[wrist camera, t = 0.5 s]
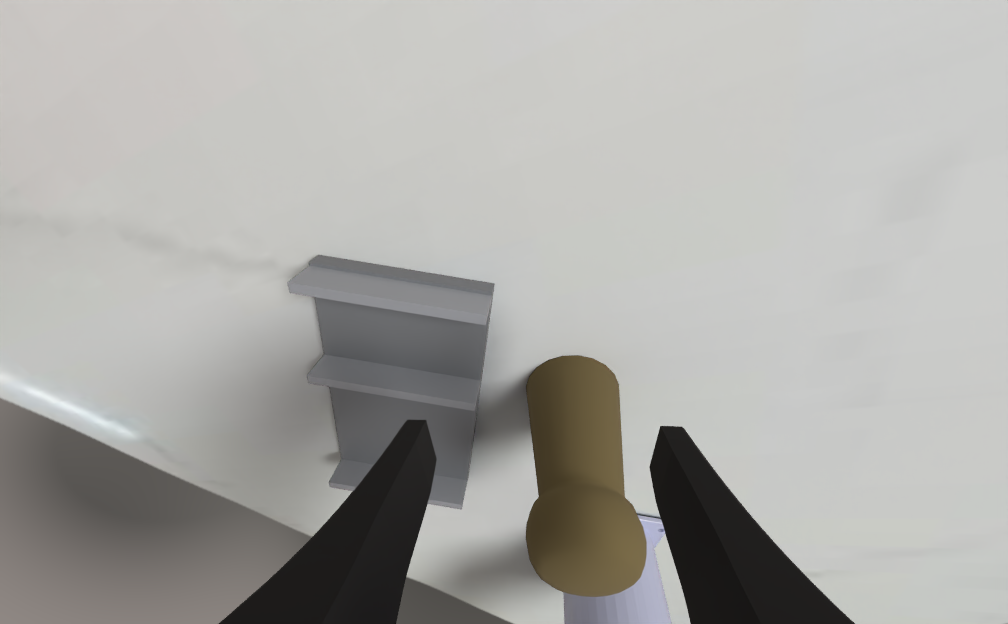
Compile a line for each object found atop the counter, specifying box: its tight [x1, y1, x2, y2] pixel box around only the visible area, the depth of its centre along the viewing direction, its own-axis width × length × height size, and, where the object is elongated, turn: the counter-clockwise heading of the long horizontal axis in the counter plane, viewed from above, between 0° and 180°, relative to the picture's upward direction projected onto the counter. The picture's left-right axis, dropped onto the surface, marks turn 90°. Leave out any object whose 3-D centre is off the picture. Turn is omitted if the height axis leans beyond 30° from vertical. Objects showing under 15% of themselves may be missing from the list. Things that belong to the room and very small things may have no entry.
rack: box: [287, 255, 494, 510], centre depth 24 cm, size 18×10×3 cm, turn 172°
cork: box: [526, 356, 647, 597], centre depth 20 cm, size 6×6×11 cm
